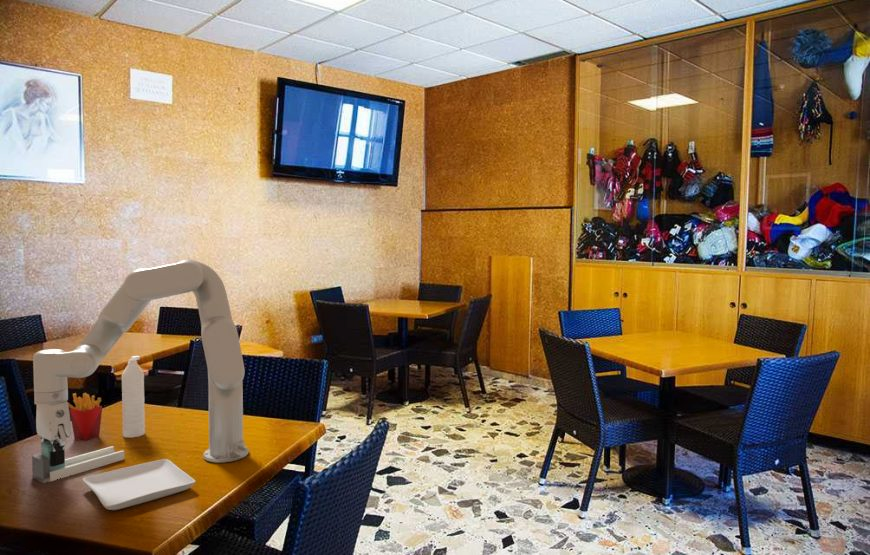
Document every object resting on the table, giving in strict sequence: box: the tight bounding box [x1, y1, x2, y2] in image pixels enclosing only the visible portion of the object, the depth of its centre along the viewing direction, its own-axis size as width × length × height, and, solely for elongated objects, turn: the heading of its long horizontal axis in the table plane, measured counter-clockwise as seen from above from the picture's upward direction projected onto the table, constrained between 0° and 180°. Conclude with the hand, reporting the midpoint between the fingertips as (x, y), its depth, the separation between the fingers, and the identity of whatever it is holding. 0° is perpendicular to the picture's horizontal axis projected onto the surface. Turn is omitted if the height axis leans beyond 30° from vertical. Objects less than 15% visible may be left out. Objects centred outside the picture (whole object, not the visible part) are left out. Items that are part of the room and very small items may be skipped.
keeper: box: [40, 437, 66, 471], centre depth 157 cm, size 4×4×8 cm
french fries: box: [67, 392, 103, 442], centre depth 186 cm, size 9×8×15 cm
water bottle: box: [121, 355, 146, 439], centre depth 191 cm, size 9×6×25 cm
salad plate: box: [82, 458, 196, 511], centre depth 150 cm, size 21×21×3 cm
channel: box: [31, 445, 125, 485], centre depth 163 cm, size 7×21×6 cm, turn 146°
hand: (53, 462), depth 157 cm, fingers closed on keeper, 4 cm apart
